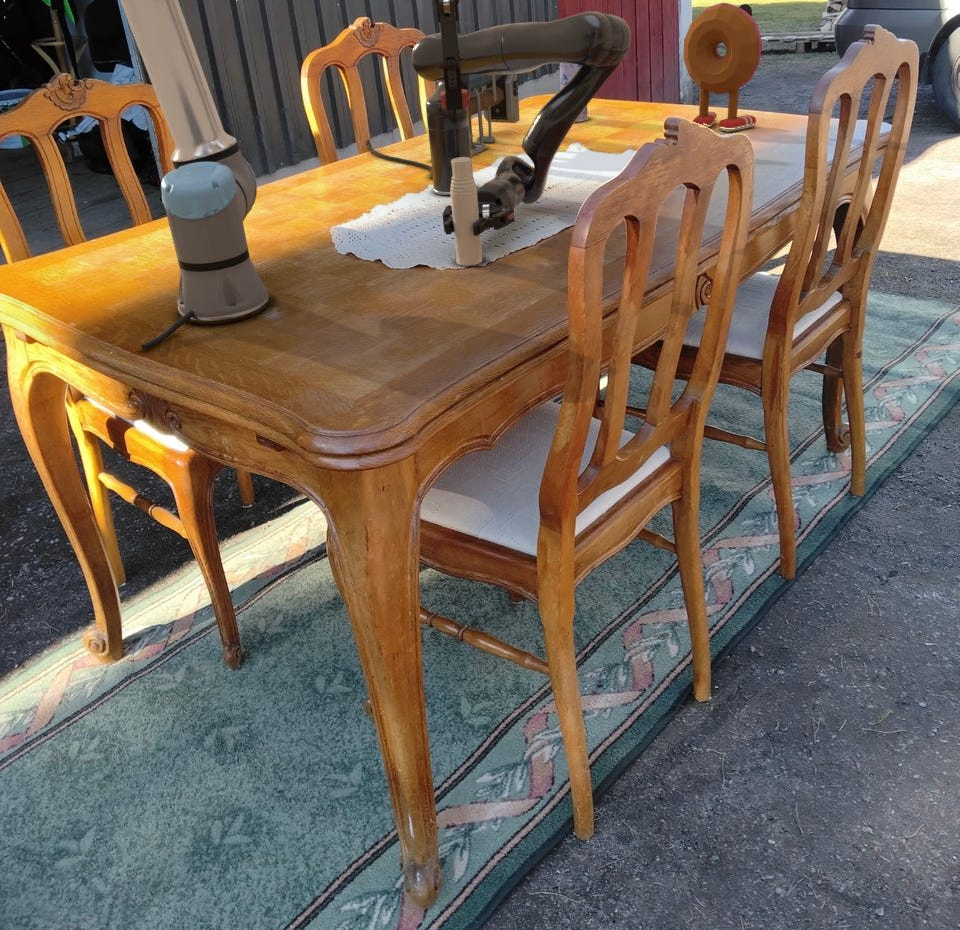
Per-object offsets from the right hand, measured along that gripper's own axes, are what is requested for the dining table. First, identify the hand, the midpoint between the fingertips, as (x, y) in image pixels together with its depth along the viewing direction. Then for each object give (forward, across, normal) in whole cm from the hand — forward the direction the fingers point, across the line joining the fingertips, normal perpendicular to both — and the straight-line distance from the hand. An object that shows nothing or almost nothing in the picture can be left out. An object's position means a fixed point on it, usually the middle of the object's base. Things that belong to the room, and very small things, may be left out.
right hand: (461, 229), depth 173 cm
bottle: (-3, 0, +7) cm, 7 cm away
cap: (-3, 0, -23) cm, 23 cm away
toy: (-113, +29, +7) cm, 117 cm away
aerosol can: (-123, -14, +7) cm, 124 cm away
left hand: (-3, 0, -21) cm, 21 cm away
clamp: (-90, -32, +7) cm, 95 cm away
